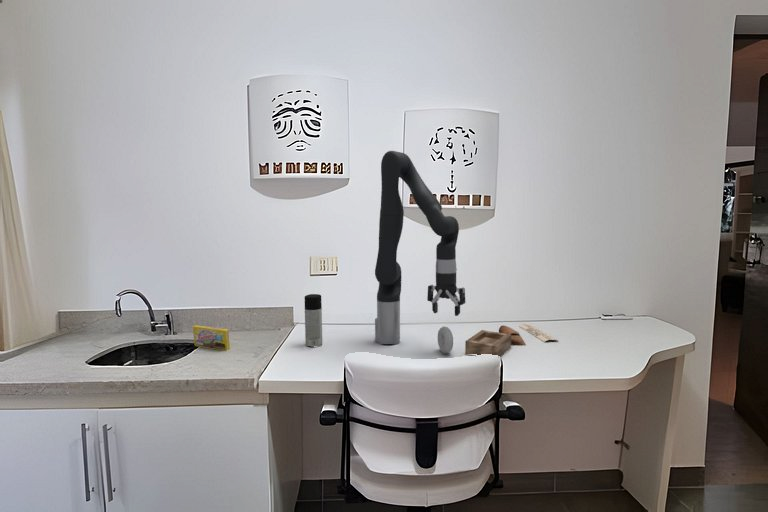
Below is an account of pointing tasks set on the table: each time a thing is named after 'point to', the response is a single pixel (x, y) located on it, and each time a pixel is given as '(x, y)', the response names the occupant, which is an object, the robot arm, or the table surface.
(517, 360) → the table surface
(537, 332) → the newspaper
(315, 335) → the spray can
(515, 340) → the sunglasses case
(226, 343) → the candy box
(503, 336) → the walnut base
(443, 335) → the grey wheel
